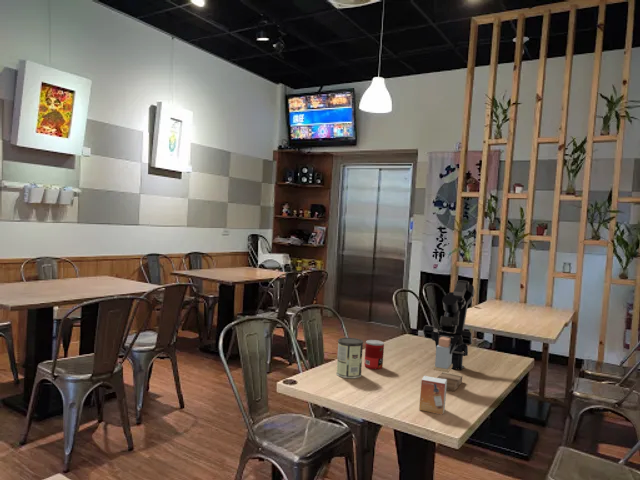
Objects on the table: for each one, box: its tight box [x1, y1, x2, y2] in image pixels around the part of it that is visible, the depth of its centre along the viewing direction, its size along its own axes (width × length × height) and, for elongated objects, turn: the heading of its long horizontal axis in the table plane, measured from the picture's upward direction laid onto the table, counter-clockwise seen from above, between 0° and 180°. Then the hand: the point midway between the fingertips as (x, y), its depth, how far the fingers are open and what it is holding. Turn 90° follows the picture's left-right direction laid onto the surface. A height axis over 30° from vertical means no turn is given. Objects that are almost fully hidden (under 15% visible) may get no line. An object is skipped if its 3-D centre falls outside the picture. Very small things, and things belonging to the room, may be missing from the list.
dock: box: [436, 372, 463, 392], centre depth 189 cm, size 14×8×3 cm, turn 152°
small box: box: [418, 375, 447, 416], centre depth 160 cm, size 8×6×10 cm
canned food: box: [364, 339, 385, 370], centre depth 207 cm, size 8×8×11 cm
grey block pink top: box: [432, 336, 453, 373], centre depth 187 cm, size 9×6×12 cm, turn 154°
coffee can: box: [336, 337, 364, 380], centre depth 194 cm, size 10×10×14 cm
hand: (443, 352), depth 186 cm, fingers closed on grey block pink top, 5 cm apart
